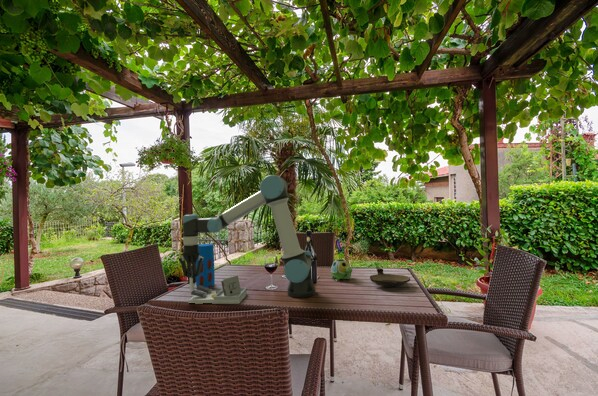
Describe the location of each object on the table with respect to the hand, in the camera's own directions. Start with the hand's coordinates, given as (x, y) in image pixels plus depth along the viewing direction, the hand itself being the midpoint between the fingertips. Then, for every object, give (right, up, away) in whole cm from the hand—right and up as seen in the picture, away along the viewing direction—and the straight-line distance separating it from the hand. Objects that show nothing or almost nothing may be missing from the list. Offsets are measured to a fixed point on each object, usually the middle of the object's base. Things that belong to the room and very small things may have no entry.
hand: (192, 289), depth 154 cm
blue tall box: (-2, -6, +27) cm, 28 cm away
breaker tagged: (+7, -3, -1) cm, 7 cm away
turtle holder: (+83, -4, +33) cm, 89 cm away
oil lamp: (+108, -3, +19) cm, 110 cm away
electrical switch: (+20, -3, +2) cm, 20 cm away
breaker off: (+7, -3, +6) cm, 10 cm away
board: (+13, -5, +2) cm, 15 cm away
